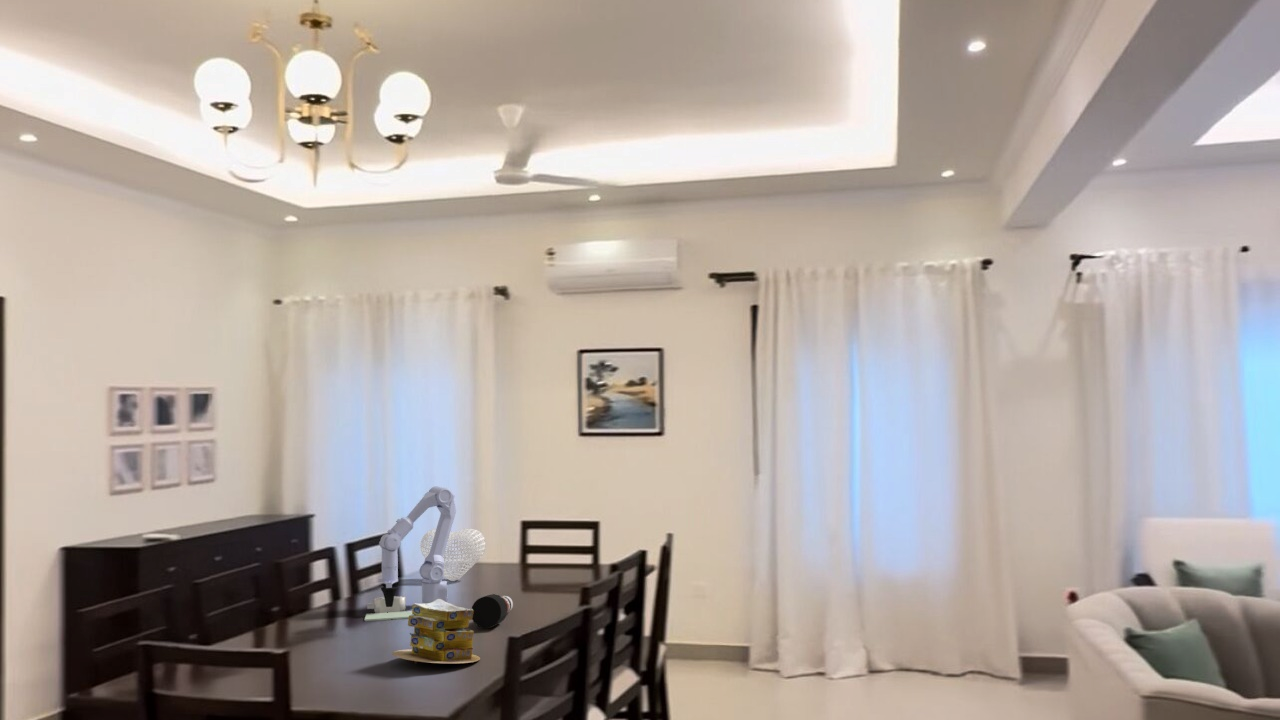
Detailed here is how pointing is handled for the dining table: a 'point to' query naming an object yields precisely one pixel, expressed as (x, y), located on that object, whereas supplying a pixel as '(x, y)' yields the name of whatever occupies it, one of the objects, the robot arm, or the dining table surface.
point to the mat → (388, 616)
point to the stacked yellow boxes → (439, 634)
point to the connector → (380, 607)
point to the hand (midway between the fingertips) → (389, 604)
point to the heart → (457, 551)
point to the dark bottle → (491, 610)
